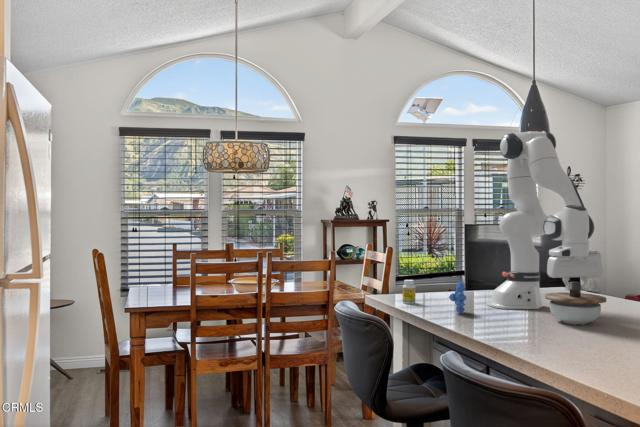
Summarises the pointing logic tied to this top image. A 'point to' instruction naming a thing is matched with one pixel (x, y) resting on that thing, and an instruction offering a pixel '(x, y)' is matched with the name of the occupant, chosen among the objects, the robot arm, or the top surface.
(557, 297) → the lid
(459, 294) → the grapes
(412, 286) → the supplement bottle
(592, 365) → the top surface
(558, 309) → the cereal bowl
